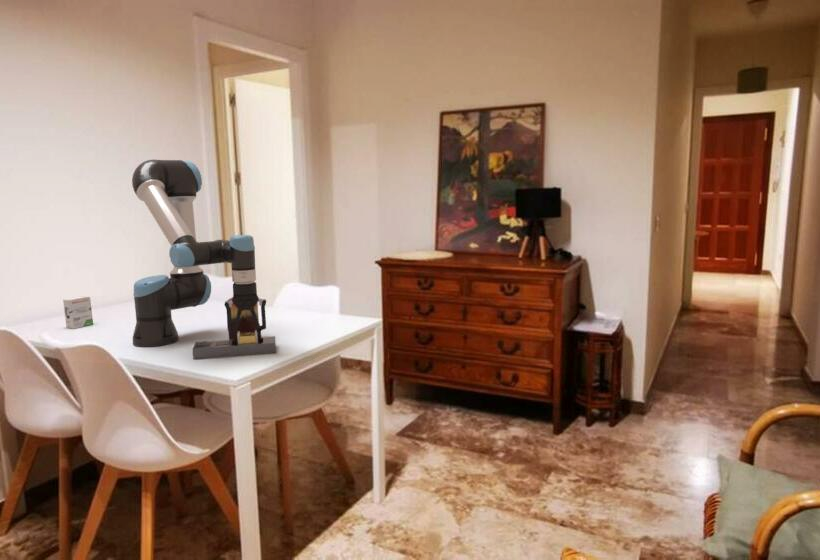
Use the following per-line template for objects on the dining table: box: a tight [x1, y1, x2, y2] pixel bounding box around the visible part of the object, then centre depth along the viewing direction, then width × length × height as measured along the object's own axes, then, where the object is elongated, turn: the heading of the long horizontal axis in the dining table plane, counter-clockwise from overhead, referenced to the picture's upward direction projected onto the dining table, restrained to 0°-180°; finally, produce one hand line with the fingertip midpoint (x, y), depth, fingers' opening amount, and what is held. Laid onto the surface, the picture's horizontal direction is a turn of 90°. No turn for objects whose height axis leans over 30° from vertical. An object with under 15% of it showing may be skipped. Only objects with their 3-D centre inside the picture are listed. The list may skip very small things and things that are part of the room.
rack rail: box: [192, 335, 277, 360], centre depth 192 cm, size 26×9×4 cm, turn 104°
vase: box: [226, 296, 260, 340], centre depth 208 cm, size 11×11×20 cm
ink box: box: [63, 296, 94, 330], centre depth 232 cm, size 9×5×12 cm, turn 148°
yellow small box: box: [239, 332, 256, 344], centre depth 192 cm, size 5×5×7 cm
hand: (248, 350), depth 193 cm, fingers closed on yellow small box, 5 cm apart
